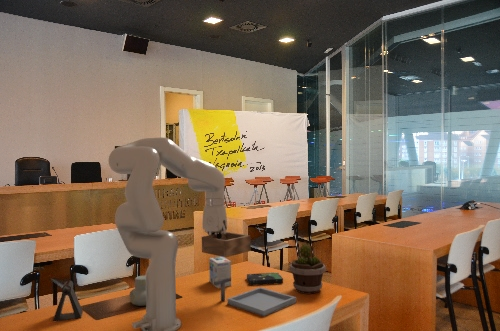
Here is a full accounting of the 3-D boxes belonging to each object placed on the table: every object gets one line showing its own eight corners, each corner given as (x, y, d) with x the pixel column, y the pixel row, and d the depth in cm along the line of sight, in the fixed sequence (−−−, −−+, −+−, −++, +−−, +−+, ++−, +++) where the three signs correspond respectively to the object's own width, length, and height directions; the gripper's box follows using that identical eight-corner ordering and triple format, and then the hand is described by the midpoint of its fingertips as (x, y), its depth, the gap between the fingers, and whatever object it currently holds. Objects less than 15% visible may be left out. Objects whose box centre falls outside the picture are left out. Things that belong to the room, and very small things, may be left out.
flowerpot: (329, 295, 160) (329, 245, 160) (291, 296, 160) (290, 246, 160) (323, 284, 175) (322, 238, 175) (287, 285, 175) (287, 238, 175)
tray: (263, 316, 140) (263, 310, 140) (227, 304, 153) (227, 298, 153) (296, 302, 153) (296, 297, 153) (260, 292, 166) (260, 287, 166)
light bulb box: (209, 281, 182) (208, 257, 181) (223, 279, 184) (222, 255, 184) (217, 288, 172) (216, 263, 172) (232, 286, 175) (231, 261, 175)
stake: (216, 304, 153) (216, 282, 153) (213, 303, 154) (213, 281, 154) (231, 298, 159) (231, 277, 159) (229, 297, 160) (228, 277, 160)
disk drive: (250, 287, 175) (283, 284, 177) (250, 280, 175) (283, 278, 177) (246, 280, 185) (278, 277, 187) (246, 273, 185) (278, 271, 187)
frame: (226, 257, 148) (225, 241, 148) (201, 252, 157) (201, 236, 157) (250, 250, 158) (250, 235, 158) (226, 246, 167) (226, 231, 167)
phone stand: (83, 312, 146) (82, 279, 146) (81, 318, 141) (80, 284, 141) (55, 315, 144) (55, 281, 144) (52, 321, 138) (51, 286, 138)
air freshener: (128, 301, 157) (127, 275, 157) (149, 297, 162) (148, 272, 162) (136, 310, 148) (136, 282, 148) (158, 305, 152) (158, 279, 152)
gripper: (194, 202, 164) (195, 247, 164) (221, 204, 153) (222, 253, 154) (208, 200, 169) (209, 244, 170) (235, 202, 159) (236, 249, 159)
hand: (215, 248), depth 162 cm, fingers closed on frame, 1 cm apart
